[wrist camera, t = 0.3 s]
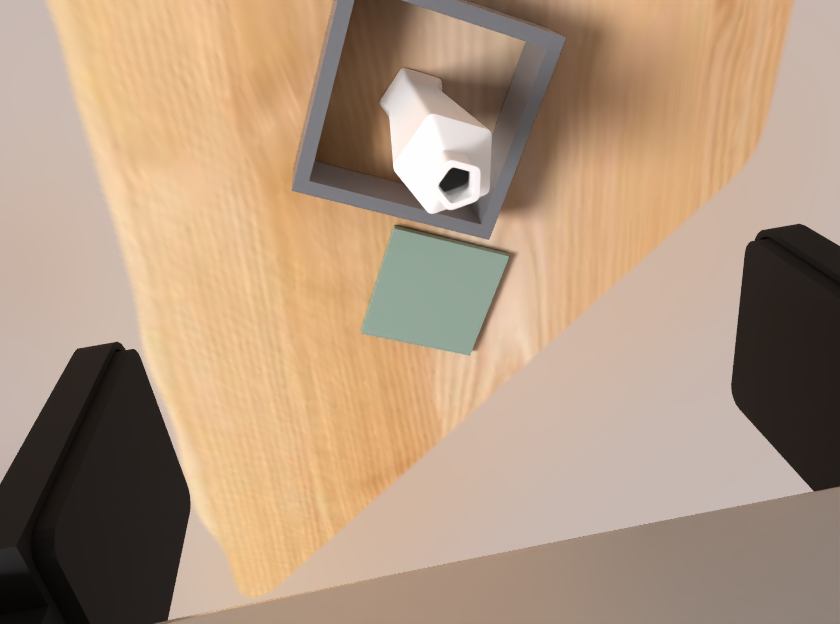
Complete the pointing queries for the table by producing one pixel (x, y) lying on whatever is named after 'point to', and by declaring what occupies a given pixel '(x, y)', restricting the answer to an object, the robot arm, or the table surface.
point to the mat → (433, 291)
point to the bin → (505, 139)
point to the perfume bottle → (436, 143)
